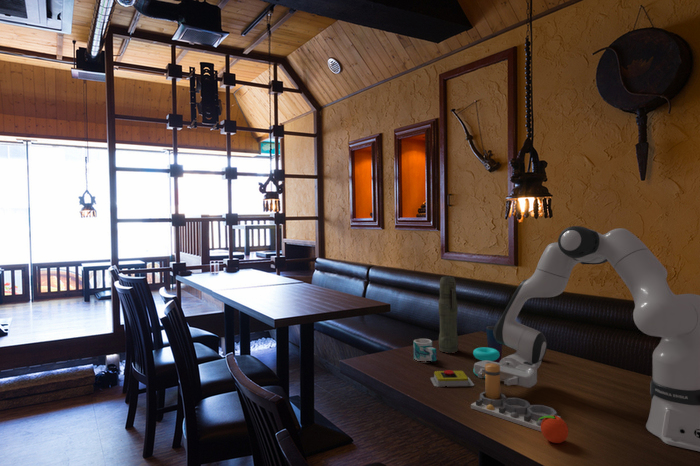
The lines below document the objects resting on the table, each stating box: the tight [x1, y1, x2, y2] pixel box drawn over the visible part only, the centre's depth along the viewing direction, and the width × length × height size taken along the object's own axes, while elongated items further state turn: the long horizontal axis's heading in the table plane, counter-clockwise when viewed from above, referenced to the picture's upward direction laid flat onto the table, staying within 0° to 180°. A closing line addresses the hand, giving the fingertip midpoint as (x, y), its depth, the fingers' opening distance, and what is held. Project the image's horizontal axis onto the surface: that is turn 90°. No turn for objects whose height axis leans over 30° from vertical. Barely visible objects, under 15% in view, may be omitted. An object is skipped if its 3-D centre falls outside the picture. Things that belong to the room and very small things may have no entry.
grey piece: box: [470, 390, 562, 433], centre depth 137 cm, size 24×11×3 cm, turn 43°
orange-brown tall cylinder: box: [484, 363, 501, 400], centre depth 144 cm, size 5×5×12 cm
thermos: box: [437, 275, 459, 353], centre depth 205 cm, size 9×12×35 cm
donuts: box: [472, 346, 500, 379], centre depth 172 cm, size 10×10×10 cm
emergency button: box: [429, 369, 475, 388], centre depth 166 cm, size 9×4×15 cm
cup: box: [485, 325, 503, 363], centre depth 187 cm, size 7×7×15 cm
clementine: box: [537, 415, 569, 444], centre depth 120 cm, size 8×7×7 cm
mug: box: [413, 338, 437, 363], centre depth 191 cm, size 8×12×8 cm
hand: (492, 379), depth 143 cm, fingers open, 8 cm apart
